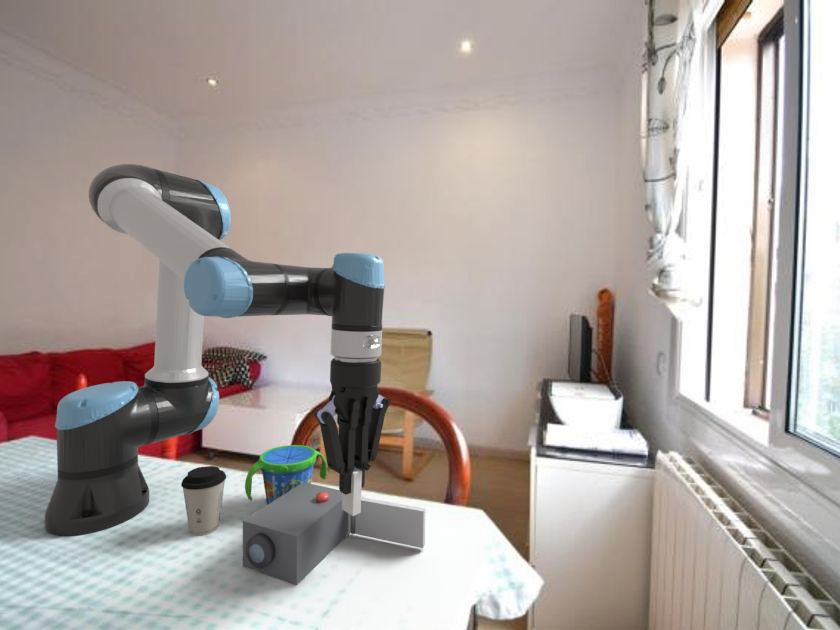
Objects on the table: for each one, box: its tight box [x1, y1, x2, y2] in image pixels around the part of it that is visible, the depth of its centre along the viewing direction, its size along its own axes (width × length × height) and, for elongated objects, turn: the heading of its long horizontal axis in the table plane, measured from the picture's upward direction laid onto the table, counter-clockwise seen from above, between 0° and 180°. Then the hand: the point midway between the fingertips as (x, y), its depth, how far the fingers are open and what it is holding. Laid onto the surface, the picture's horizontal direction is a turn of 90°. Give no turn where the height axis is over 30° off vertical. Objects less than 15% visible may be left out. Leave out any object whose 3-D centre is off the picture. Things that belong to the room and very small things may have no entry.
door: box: [349, 496, 426, 549], centre depth 67 cm, size 2×13×6 cm, turn 72°
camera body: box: [242, 482, 351, 586], centre depth 64 cm, size 10×15×8 cm, turn 158°
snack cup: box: [244, 444, 328, 506], centre depth 78 cm, size 16×10×10 cm
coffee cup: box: [180, 465, 227, 537], centre depth 70 cm, size 7×7×10 cm
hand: (351, 510), depth 61 cm, fingers closed
